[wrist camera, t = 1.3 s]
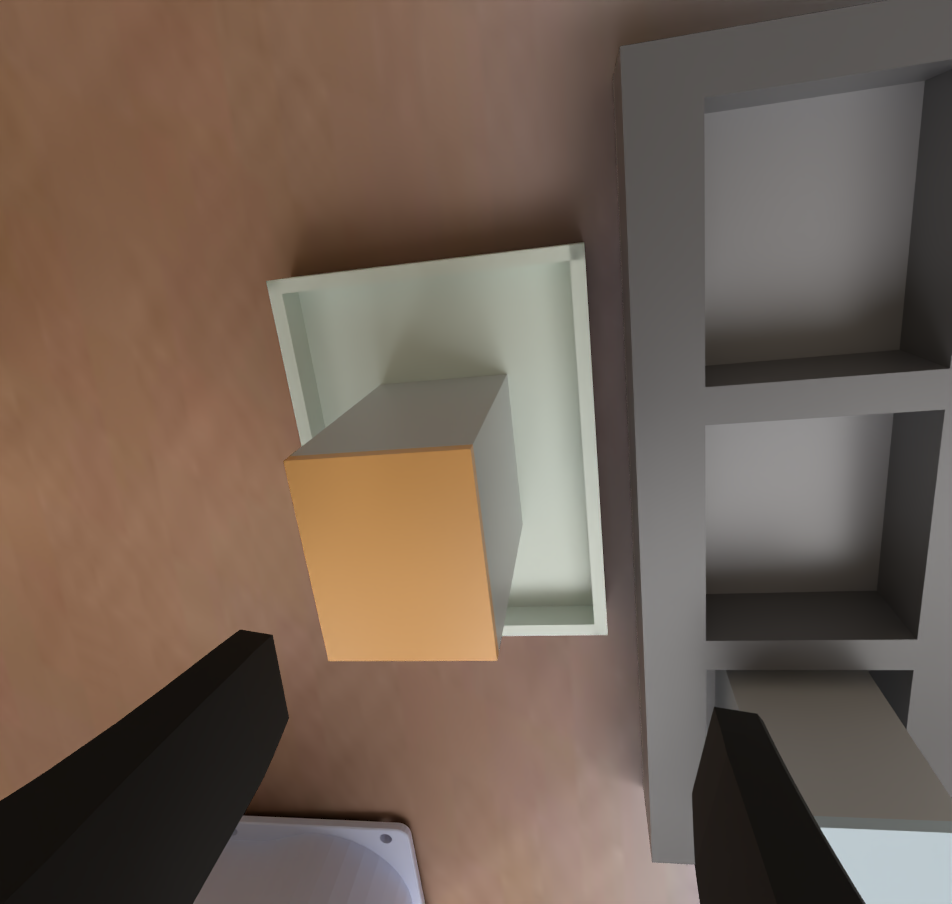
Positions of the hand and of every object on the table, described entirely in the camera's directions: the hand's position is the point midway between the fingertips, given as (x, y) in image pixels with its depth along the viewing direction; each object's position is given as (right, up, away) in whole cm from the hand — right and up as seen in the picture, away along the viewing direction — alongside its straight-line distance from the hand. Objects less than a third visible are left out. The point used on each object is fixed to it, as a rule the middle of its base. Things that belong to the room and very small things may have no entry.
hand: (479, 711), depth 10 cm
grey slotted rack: (+9, +3, +9) cm, 13 cm away
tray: (-1, +4, +10) cm, 11 cm away
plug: (-1, +4, +10) cm, 11 cm away
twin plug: (+10, -4, +11) cm, 16 cm away
